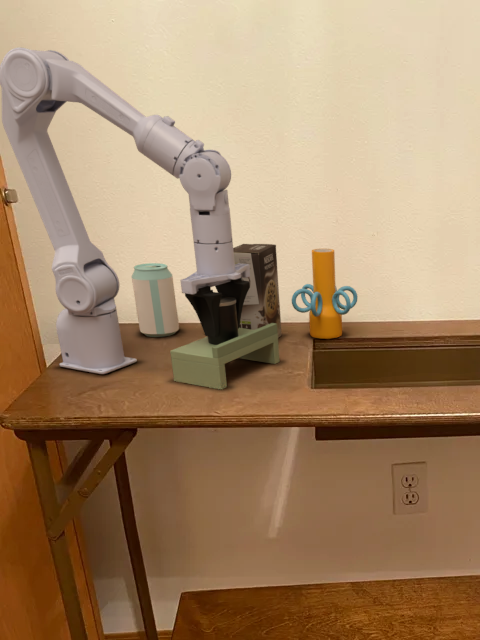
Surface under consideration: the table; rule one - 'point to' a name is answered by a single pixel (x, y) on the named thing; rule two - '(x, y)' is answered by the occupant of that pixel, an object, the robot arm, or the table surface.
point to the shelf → (223, 356)
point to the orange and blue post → (324, 297)
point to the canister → (226, 321)
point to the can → (155, 300)
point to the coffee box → (260, 286)
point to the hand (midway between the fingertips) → (222, 332)
